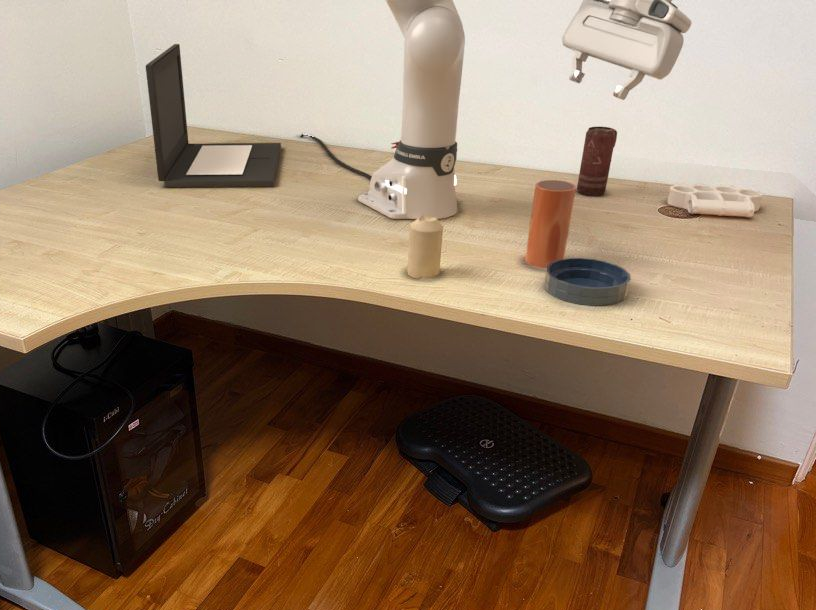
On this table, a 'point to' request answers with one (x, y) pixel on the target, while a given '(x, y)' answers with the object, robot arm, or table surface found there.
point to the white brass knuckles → (715, 199)
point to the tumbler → (549, 222)
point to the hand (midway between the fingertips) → (595, 89)
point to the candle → (425, 247)
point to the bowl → (587, 281)
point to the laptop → (198, 161)
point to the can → (596, 160)
